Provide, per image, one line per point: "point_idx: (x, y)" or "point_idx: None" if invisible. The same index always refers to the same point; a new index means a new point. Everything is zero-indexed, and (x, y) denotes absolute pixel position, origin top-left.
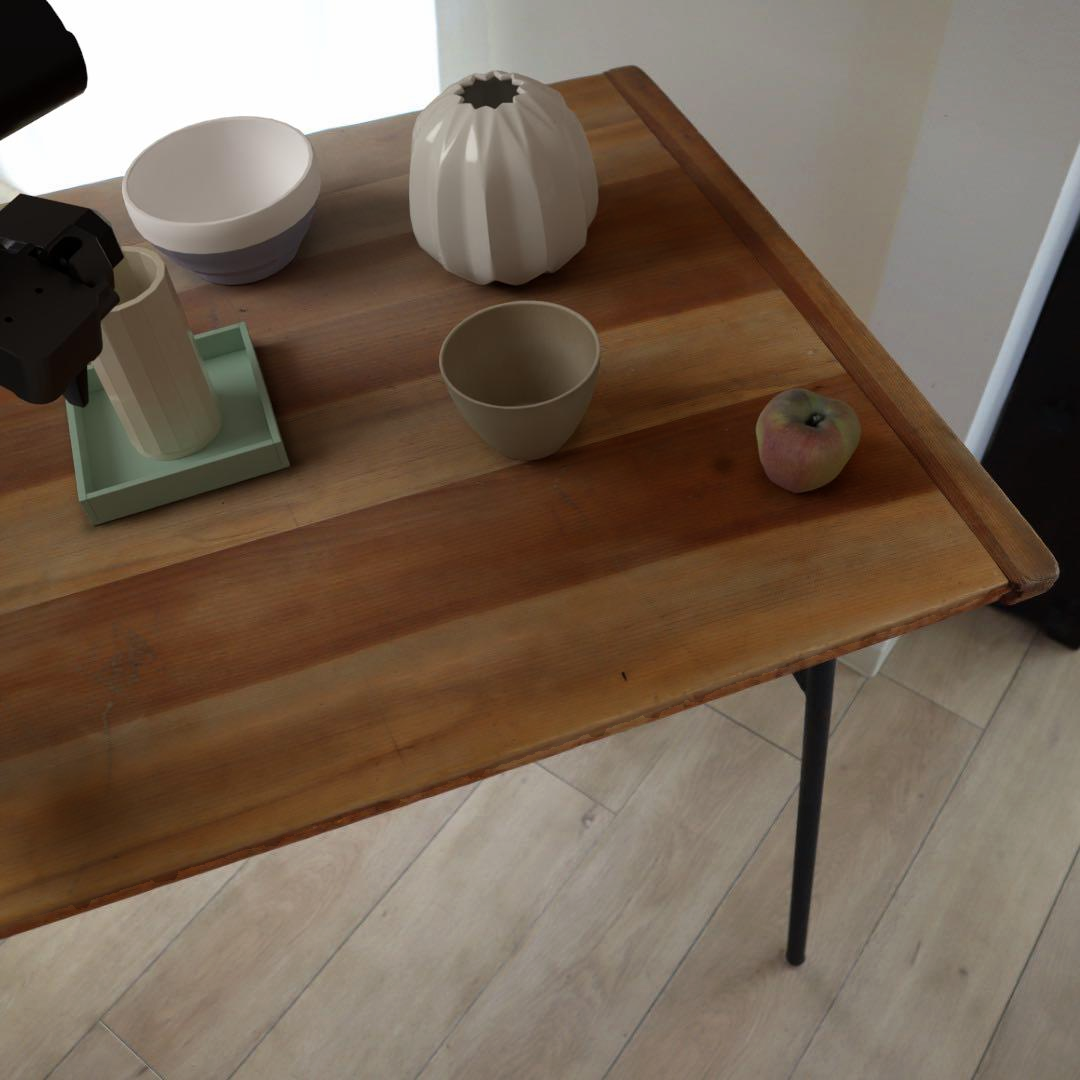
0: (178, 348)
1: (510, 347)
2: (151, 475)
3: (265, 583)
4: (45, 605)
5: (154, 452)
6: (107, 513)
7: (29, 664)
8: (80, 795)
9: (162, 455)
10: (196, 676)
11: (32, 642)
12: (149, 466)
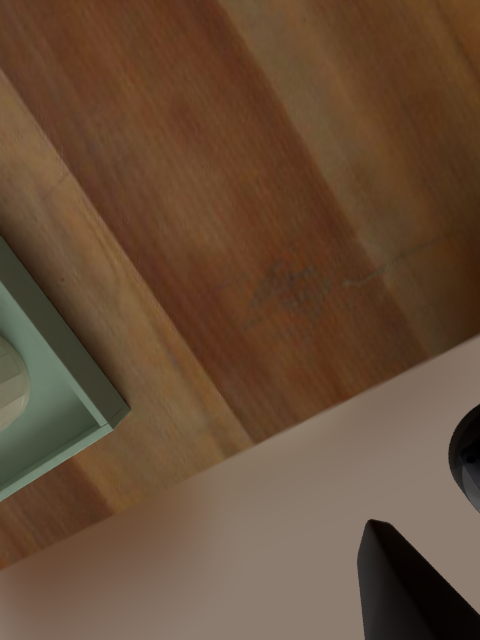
0: None
1: None
2: (53, 362)
3: (155, 176)
4: (238, 412)
5: (21, 382)
6: (113, 399)
7: (312, 394)
8: (464, 261)
9: (22, 373)
10: (294, 200)
11: (285, 404)
12: (40, 383)
